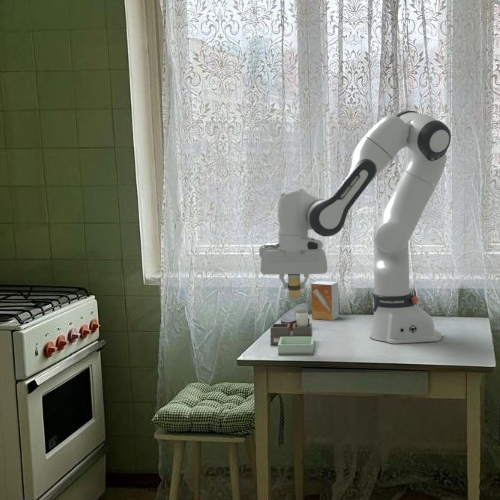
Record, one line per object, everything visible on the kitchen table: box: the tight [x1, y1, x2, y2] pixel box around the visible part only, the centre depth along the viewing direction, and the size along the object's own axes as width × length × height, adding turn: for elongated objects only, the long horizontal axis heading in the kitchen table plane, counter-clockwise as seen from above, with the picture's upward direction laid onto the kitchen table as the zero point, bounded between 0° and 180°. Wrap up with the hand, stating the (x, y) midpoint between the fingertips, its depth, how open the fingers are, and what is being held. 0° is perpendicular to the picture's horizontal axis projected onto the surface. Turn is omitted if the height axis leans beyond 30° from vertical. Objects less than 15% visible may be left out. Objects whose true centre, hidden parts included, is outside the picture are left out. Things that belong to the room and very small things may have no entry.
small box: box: [310, 280, 340, 321], centre depth 298 cm, size 8×6×13 cm
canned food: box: [280, 302, 310, 331], centre depth 285 cm, size 11×10×10 cm
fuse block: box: [269, 322, 313, 346], centre depth 264 cm, size 13×6×6 cm, turn 84°
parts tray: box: [277, 336, 315, 356], centre depth 254 cm, size 10×10×3 cm
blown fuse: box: [287, 274, 302, 302], centre depth 252 cm, size 4×4×8 cm
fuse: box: [296, 307, 309, 327], centre depth 263 cm, size 4×4×8 cm
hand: (294, 288), depth 252 cm, fingers closed on blown fuse, 4 cm apart
